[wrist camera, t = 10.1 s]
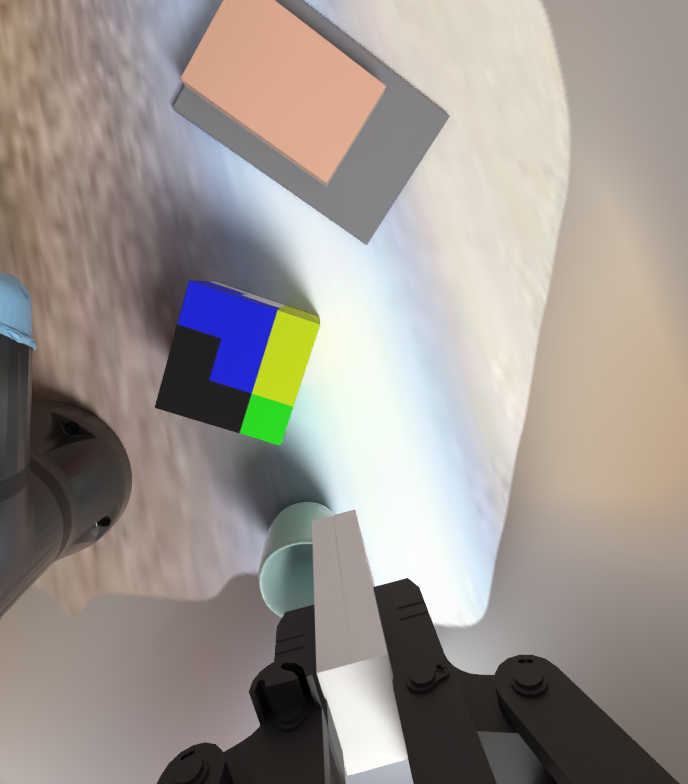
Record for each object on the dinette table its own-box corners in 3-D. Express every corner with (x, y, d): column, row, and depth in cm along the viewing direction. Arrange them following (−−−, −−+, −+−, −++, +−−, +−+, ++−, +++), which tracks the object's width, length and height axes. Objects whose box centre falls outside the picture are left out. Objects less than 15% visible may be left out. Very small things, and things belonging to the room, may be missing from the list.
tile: (386, 86, 40) (238, -28, 38) (326, 183, 41) (180, 78, 39) (382, 95, 42) (242, -13, 40) (326, 187, 43) (186, 88, 41)
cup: (349, 551, 52) (357, 613, 42) (277, 565, 52) (268, 631, 42) (336, 484, 50) (341, 532, 40) (261, 498, 50) (248, 550, 40)
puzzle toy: (216, 281, 45) (189, 280, 35) (319, 316, 46) (320, 324, 37) (188, 382, 47) (154, 407, 37) (287, 413, 48) (280, 445, 38)
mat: (448, 117, 43) (449, 115, 43) (366, 245, 45) (366, 244, 45) (253, -34, 40) (252, -38, 39) (174, 110, 42) (172, 108, 41)
